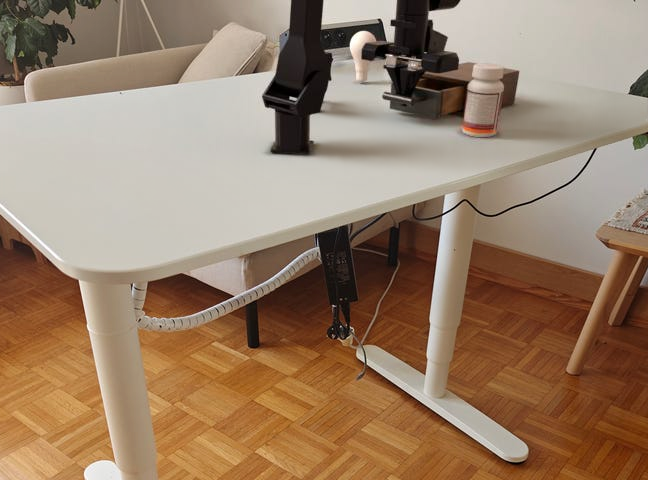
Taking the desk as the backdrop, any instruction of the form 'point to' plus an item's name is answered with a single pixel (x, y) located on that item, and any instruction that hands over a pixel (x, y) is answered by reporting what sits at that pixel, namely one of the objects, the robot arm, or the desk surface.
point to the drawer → (429, 98)
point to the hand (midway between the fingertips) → (404, 105)
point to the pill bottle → (483, 100)
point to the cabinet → (465, 77)
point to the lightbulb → (356, 51)
